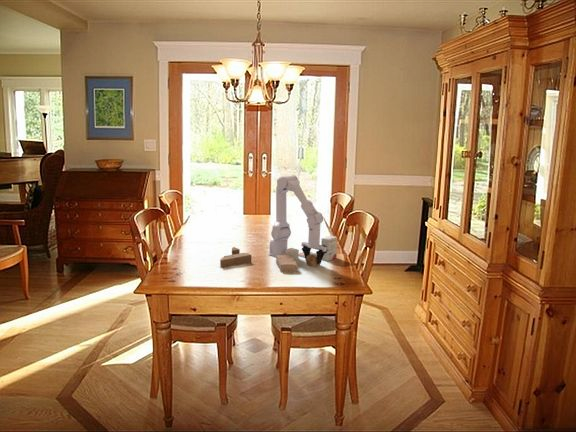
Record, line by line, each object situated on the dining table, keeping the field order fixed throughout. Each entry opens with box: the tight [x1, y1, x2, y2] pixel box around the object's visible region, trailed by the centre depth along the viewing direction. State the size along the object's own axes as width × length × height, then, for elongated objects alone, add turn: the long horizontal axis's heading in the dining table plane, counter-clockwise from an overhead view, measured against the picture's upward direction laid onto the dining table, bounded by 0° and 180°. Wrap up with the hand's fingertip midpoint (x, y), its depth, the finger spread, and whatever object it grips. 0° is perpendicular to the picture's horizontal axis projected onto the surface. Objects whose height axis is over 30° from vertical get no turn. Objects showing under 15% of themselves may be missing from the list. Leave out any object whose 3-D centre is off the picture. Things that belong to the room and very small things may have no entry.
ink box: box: [320, 235, 338, 262], centre depth 263 cm, size 9×5×12 cm, turn 141°
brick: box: [275, 254, 298, 273], centre depth 248 cm, size 17×8×5 cm, turn 10°
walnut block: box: [305, 254, 321, 268], centre depth 252 cm, size 5×5×5 cm
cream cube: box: [285, 247, 300, 261], centre depth 262 cm, size 5×5×5 cm
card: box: [298, 251, 317, 259], centre depth 270 cm, size 7×10×1 cm
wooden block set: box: [219, 246, 252, 268], centre depth 255 cm, size 17×6×18 cm
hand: (313, 262), depth 252 cm, fingers open, 7 cm apart
